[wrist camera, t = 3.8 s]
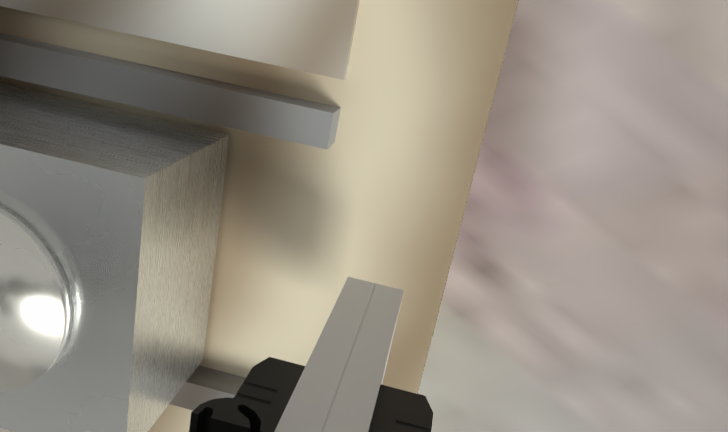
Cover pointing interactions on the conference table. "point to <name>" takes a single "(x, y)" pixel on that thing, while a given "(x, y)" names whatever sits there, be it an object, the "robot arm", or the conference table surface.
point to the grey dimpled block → (101, 261)
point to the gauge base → (295, 148)
